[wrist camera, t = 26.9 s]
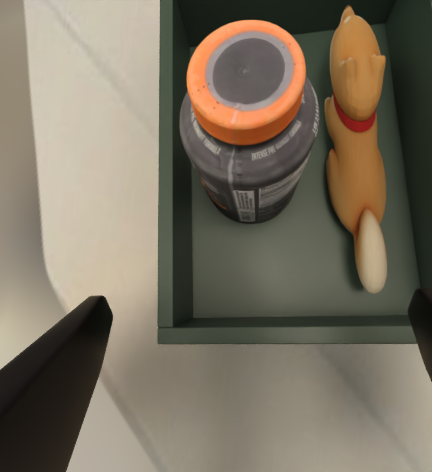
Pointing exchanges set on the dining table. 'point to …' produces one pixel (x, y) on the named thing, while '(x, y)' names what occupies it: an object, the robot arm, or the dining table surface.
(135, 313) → the dining table surface
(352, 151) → the toy
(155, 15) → the dining table surface
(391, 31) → the green storage tray
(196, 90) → the pill bottle
